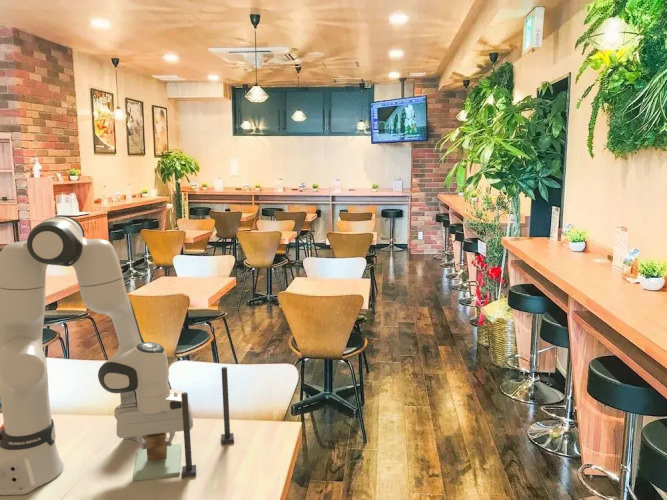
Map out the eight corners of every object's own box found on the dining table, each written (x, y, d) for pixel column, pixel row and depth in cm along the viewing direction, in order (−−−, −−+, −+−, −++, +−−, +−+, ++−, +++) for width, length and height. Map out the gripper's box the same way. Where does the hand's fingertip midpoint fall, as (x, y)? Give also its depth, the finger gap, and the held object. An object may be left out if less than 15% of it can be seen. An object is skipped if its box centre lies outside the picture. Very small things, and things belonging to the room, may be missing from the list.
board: (133, 481, 149) (132, 478, 149) (138, 451, 163) (138, 448, 163) (179, 474, 152) (179, 472, 151) (181, 445, 166) (181, 443, 166)
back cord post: (221, 444, 167) (218, 371, 162) (221, 438, 170) (217, 366, 165) (234, 442, 167) (230, 369, 163) (233, 436, 171) (230, 365, 166)
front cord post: (182, 477, 150) (177, 397, 146) (182, 470, 154) (177, 391, 149) (196, 476, 151) (191, 396, 146) (196, 468, 154) (191, 390, 150)
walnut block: (147, 461, 154) (145, 438, 153) (149, 451, 159) (147, 428, 157) (166, 458, 155) (164, 435, 154) (167, 449, 160) (165, 426, 159)
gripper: (111, 410, 148) (116, 457, 151) (191, 401, 153) (194, 448, 156) (115, 399, 154) (119, 445, 157) (191, 391, 159) (194, 436, 162)
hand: (157, 446), depth 156 cm, fingers closed on walnut block, 5 cm apart
